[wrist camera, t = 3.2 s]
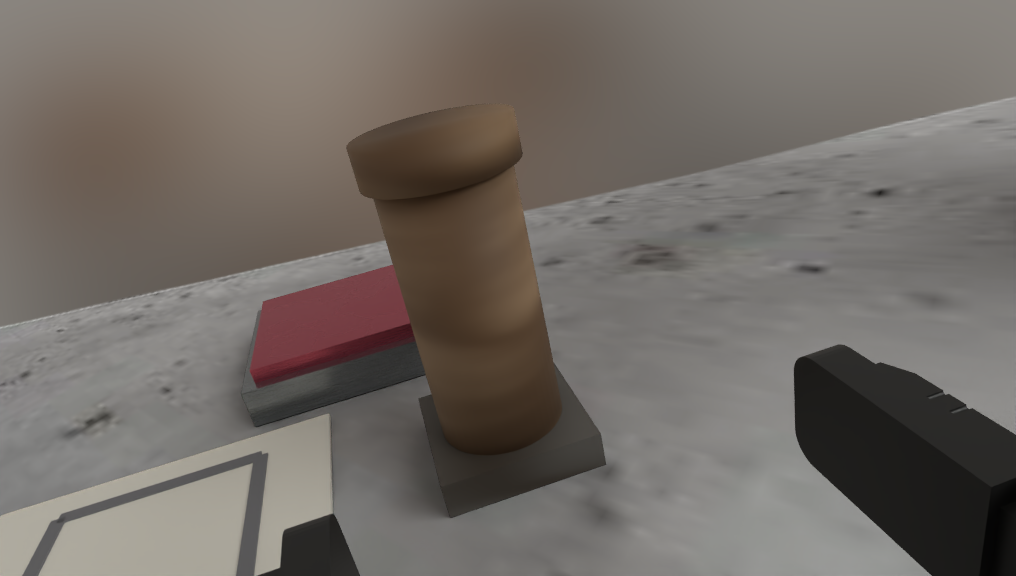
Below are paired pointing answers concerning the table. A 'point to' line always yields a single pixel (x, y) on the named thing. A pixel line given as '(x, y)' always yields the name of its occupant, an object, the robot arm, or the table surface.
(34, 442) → the table surface
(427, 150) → the stamp
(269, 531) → the sheet
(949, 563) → the robot arm
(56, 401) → the table surface
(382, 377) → the ink pad
